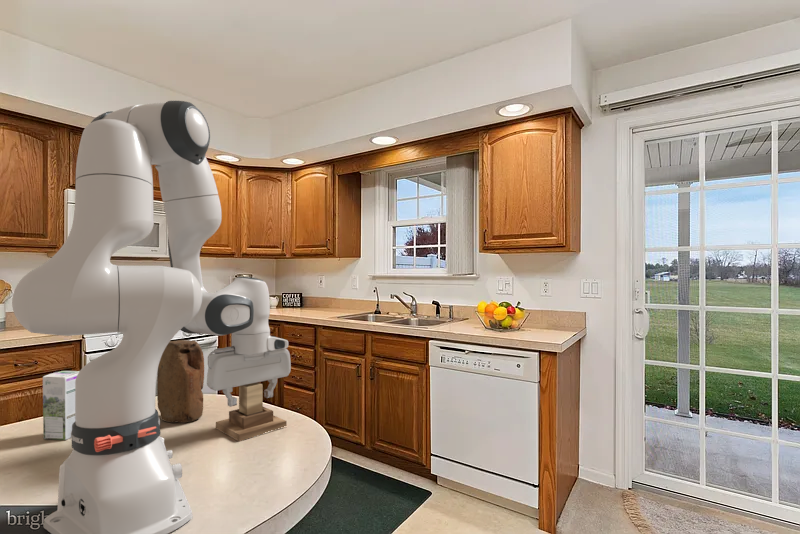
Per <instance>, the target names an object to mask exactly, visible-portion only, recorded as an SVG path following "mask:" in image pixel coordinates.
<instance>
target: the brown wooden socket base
mask: <svg viewBox="0 0 800 534" xmlns="http://www.w3.org/2000/svg"><path fill="white" fill-rule="evenodd" d="M287 425H288V424H287V420H285V419H283V418H281V417H278V416H275V415H274V410H272V409H270V408H269V407H266V406H263V412H261V413H258V414H254V415H250V416H244V415H242V414H240V413H239V408H237V409H233V410H230V411H228V418H225V419H222V420H218V421H215V429H217V430H218V431H220V432H222V433H223V432H224V434H225V433H226V434H225V435H227V436H229V437H231V438H232V437H233V439H234V440H236V441H238V442H243V441H245V439H246V440H249V439H252V438H255V437H254V436H256V437H258V436H257V435H259V436H261V435H260V434H262V435H264V434H263V433H265V432H268V431H271V430H275V429H278V428H281V427H284V426H287ZM251 437H252V438H251ZM248 438H249V439H248ZM242 440H243V441H242Z"/></svg>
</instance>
